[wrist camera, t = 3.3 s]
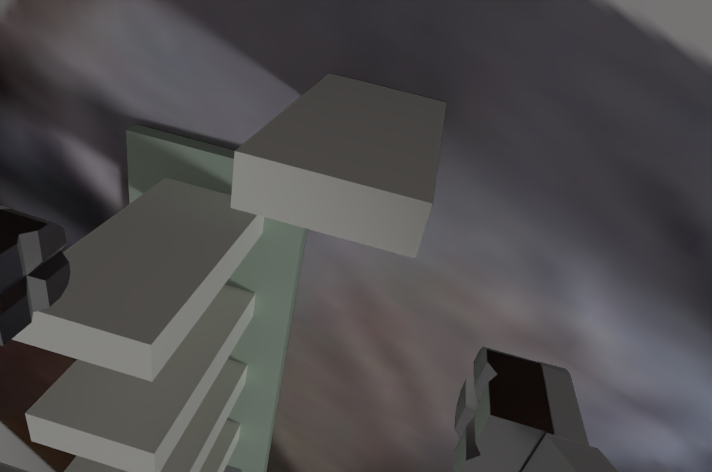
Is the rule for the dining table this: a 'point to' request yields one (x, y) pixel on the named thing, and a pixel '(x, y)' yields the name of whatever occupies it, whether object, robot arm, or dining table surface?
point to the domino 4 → (222, 448)
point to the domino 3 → (193, 426)
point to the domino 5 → (346, 164)
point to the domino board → (235, 280)
